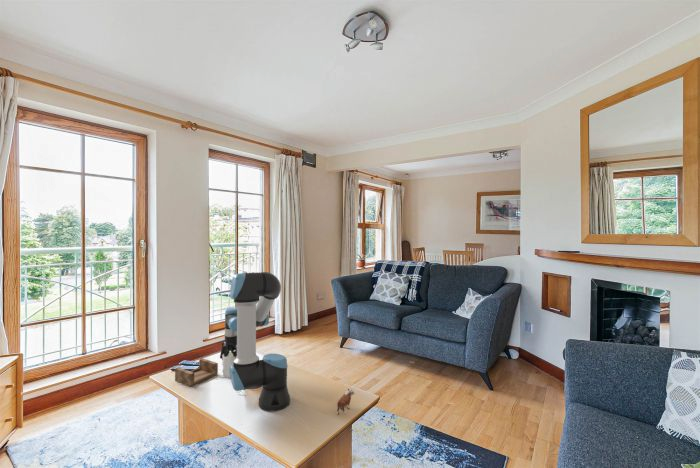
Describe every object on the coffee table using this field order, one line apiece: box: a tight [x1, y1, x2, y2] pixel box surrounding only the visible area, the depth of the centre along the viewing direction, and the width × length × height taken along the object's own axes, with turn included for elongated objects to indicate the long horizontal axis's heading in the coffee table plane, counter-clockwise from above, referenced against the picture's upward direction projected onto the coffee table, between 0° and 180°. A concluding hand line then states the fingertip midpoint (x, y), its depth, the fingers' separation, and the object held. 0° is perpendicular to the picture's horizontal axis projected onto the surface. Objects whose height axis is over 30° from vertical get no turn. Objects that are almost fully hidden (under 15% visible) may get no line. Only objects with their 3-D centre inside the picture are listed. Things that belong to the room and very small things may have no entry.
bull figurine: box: [336, 388, 356, 414], centre depth 153 cm, size 4×13×8 cm, turn 149°
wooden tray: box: [174, 358, 219, 388], centre depth 182 cm, size 14×17×7 cm
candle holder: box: [222, 351, 237, 379], centre depth 187 cm, size 10×10×12 cm
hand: (231, 372), depth 187 cm, fingers open, 9 cm apart
